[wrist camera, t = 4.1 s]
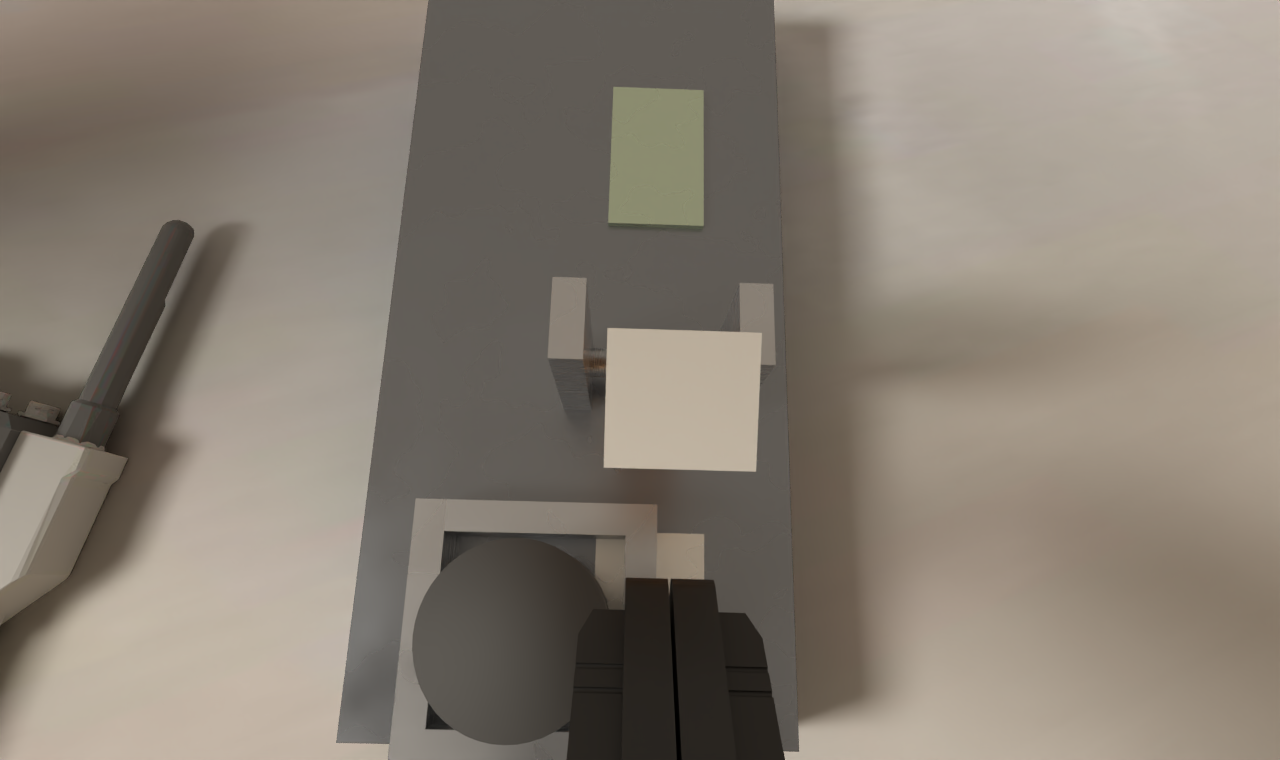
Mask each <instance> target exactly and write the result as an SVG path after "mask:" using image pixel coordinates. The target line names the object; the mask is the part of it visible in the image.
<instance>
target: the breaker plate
mask: <svg viewBox="0 0 1280 760" xmlns="http://www.w3.org/2000/svg"><path fill="white" fill-rule="evenodd" d="M607 328H630V329H662V330H695V331H727V332H754V333H762V344H761V367H760V391H759V414H758V437H757V460H756V472H750V471H713V470H676V469H638V468H604V434H605V397H606V361H607ZM504 538H526V539H533V540H537V541H542V542H544V543H547V544H550V545H552V546H555V547H556V548H558V549H560V550H562V551H564V552H565V553H567V554H569V555H571V556H572V557H574V558H575V559H576V560H578V561H579V562H581V563H582V564H583V565H584V566H585V567H586V568H587V569H588V570H589V571H590V572H591V574H592V575H593V576H594V577H595V579H596V580H597V582H598V584H599V585H600V587H601V589H602V591H603V593H604V596H605V598H606V601H607V605H608V608H609V609H612V610H624V604H625V580H626V577H629V578H664V579H668V584H669V590H670V581H671V578H672V579H707V580H714V582H715V587H716V595H717V603H718V611H719V612H729V613H746V615H747V616H748V618H749V619H750V621H751V622H752V624H753V625H754V626H755V628H756V629H757V631H758V632H759V634H760V635H761V637H762V638H763V644H764V649H765V655H766V660H767V665H768V673H769V676H770V682H771V687H772V697H773V698H774V703H775V709H776V714H777V720H778V725H779V730H780V736H781V741H782V747H783V751H794V752H799V738H798V708H797V678H796V648H795V619H794V589H793V559H792V529H791V500H790V470H789V440H788V410H787V381H786V351H785V321H784V291H783V262H782V232H781V202H780V172H779V142H778V113H777V83H776V53H775V23H774V0H429V2H428V10H427V18H426V26H425V34H424V42H423V50H422V58H421V66H420V74H419V82H418V90H417V98H416V106H415V114H414V122H413V130H412V138H411V146H410V154H409V162H408V170H407V178H406V186H405V194H404V202H403V210H402V219H401V227H400V235H399V243H398V251H397V259H396V267H395V275H394V283H393V291H392V299H391V307H390V315H389V323H388V331H387V339H386V347H385V355H384V363H383V371H382V379H381V387H380V395H379V403H378V411H377V419H376V427H375V435H374V443H373V452H372V460H371V468H370V476H369V484H368V492H367V500H366V508H365V516H364V524H363V532H362V540H361V548H360V556H359V564H358V572H357V580H356V588H355V596H354V604H353V612H352V620H351V628H350V636H349V644H348V652H347V660H346V668H345V677H344V685H343V693H342V701H341V709H340V717H339V725H338V733H337V741H336V743H371V744H390V745H389V754H388V760H566V759H567V749H568V738H569V727H570V721H569V722H568V723H567V724H566V725H564V726H563V727H561V728H560V729H558V730H557V731H555V732H553V733H551V734H549V735H547V736H545V737H544V738H541V739H538V740H535V741H532V742H528V743H523V744H518V745H495V744H488V743H484V742H480V741H476V740H474V739H472V738H469V737H467V736H464V735H463V734H461V733H459V732H458V731H456V730H454V729H453V728H452V727H450V726H449V725H448V724H447V723H445V722H444V721H443V720H442V719H441V718H440V717H439V716H438V715H437V714H436V712H435V711H434V710H433V709H432V707H431V706H430V704H429V703H428V701H427V700H426V698H425V696H424V694H423V692H422V690H421V688H420V685H419V683H418V680H417V677H416V673H415V668H414V664H413V654H412V639H413V630H414V624H415V620H416V617H417V613H418V610H419V607H420V605H421V602H422V600H423V598H424V596H425V594H426V592H427V591H428V589H429V587H430V585H431V584H432V583H433V581H434V580H435V579H436V577H437V576H438V575H439V574H440V573H441V572H442V570H443V569H444V568H445V567H446V566H447V565H448V564H450V563H451V562H452V561H453V560H454V559H456V558H457V557H458V556H460V555H461V554H463V553H465V552H466V551H468V550H469V549H472V548H474V547H476V546H478V545H480V544H483V543H486V542H490V541H493V540H498V539H504Z"/></svg>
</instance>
